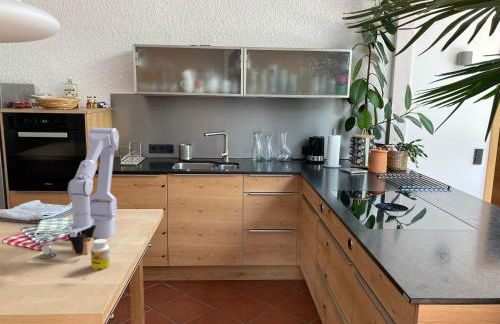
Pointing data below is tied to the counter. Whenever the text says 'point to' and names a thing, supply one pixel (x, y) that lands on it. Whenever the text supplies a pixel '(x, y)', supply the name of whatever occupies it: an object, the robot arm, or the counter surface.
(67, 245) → the beige base plate
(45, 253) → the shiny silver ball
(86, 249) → the orange hollow cube
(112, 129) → the robot arm
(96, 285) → the counter surface
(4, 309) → the counter surface
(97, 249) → the supplement bottle
